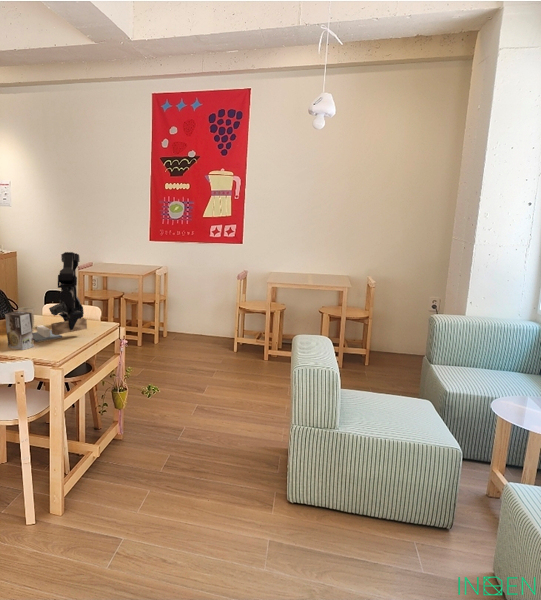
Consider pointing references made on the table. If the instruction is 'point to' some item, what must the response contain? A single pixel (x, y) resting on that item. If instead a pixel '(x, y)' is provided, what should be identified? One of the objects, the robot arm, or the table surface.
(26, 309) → the block tower
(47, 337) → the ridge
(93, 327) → the table surface
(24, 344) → the coffee box
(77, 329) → the beam
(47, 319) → the table surface
